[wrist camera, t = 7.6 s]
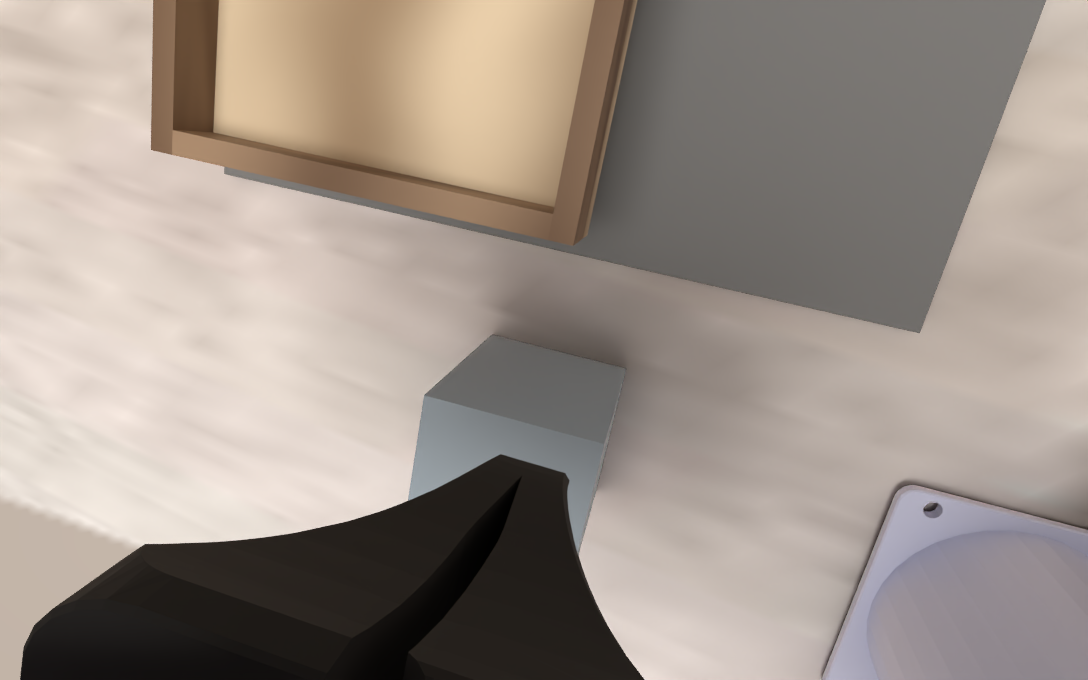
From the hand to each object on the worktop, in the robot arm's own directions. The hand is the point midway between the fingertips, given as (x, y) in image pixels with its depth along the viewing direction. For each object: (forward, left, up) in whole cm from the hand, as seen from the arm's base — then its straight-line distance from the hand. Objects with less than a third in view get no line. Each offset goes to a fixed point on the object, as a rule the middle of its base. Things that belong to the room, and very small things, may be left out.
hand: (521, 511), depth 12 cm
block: (+1, +2, -10) cm, 10 cm away
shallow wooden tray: (+6, -10, -10) cm, 15 cm away
